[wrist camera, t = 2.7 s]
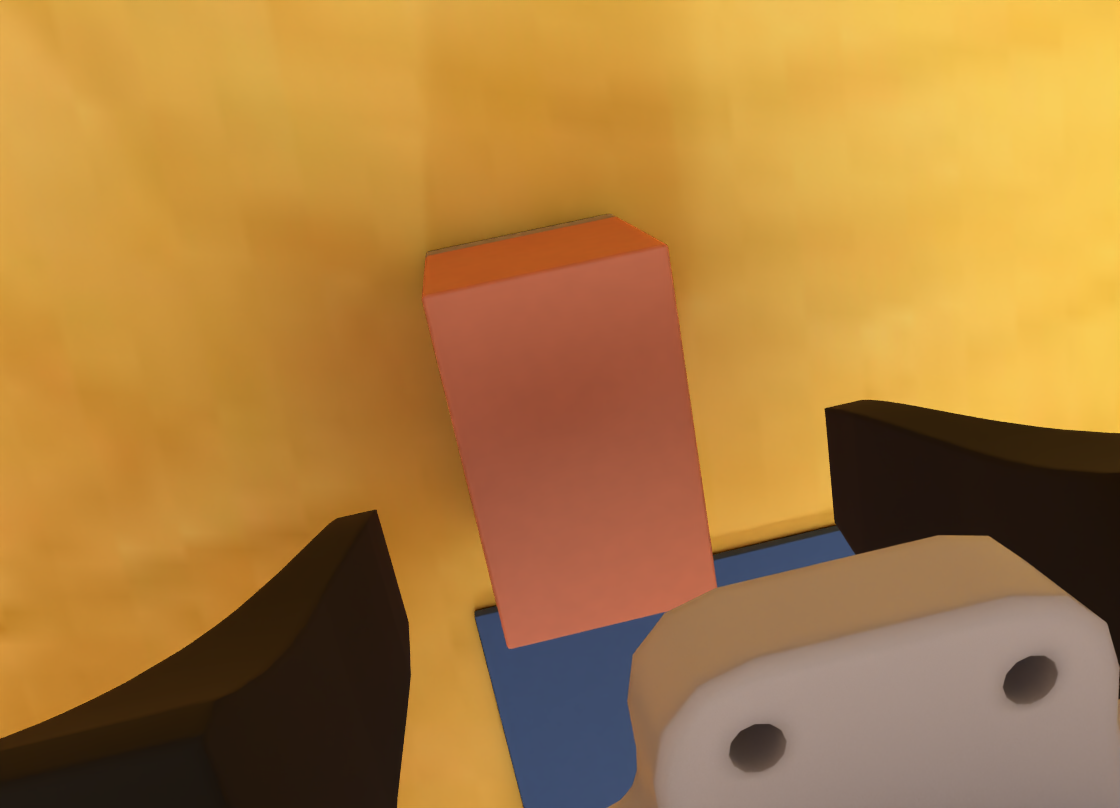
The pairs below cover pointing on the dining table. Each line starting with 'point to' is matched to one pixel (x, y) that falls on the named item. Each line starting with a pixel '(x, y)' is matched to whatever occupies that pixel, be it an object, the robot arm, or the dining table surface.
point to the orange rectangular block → (572, 423)
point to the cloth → (601, 686)
